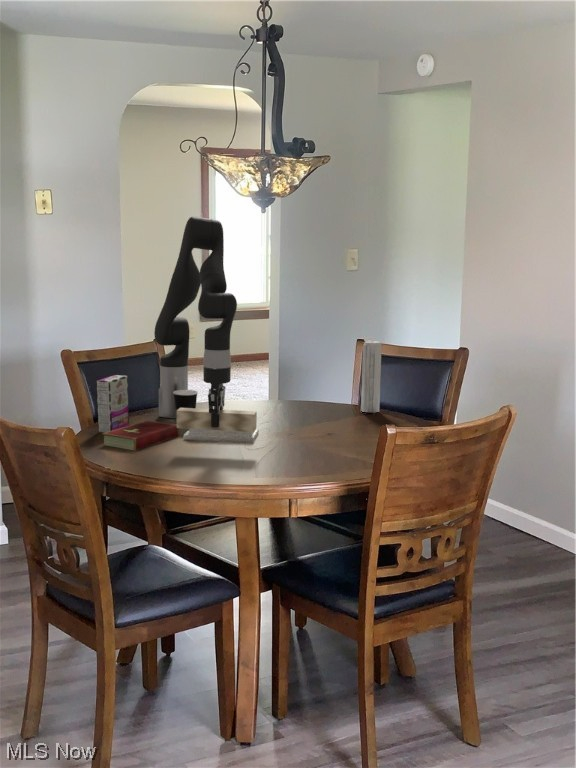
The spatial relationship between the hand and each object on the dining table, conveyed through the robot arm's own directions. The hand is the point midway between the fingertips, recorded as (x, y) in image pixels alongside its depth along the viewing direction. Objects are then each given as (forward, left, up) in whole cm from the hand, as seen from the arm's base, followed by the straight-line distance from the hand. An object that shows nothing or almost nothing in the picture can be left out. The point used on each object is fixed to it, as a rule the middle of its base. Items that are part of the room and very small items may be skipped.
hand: (216, 424), depth 236 cm
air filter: (+43, +64, -8) cm, 77 cm away
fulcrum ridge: (-2, +19, -8) cm, 21 cm away
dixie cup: (-16, +32, -8) cm, 36 cm away
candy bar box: (-37, +23, -8) cm, 44 cm away
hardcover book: (-24, +10, -9) cm, 28 cm away
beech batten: (0, 0, -1) cm, 1 cm away
